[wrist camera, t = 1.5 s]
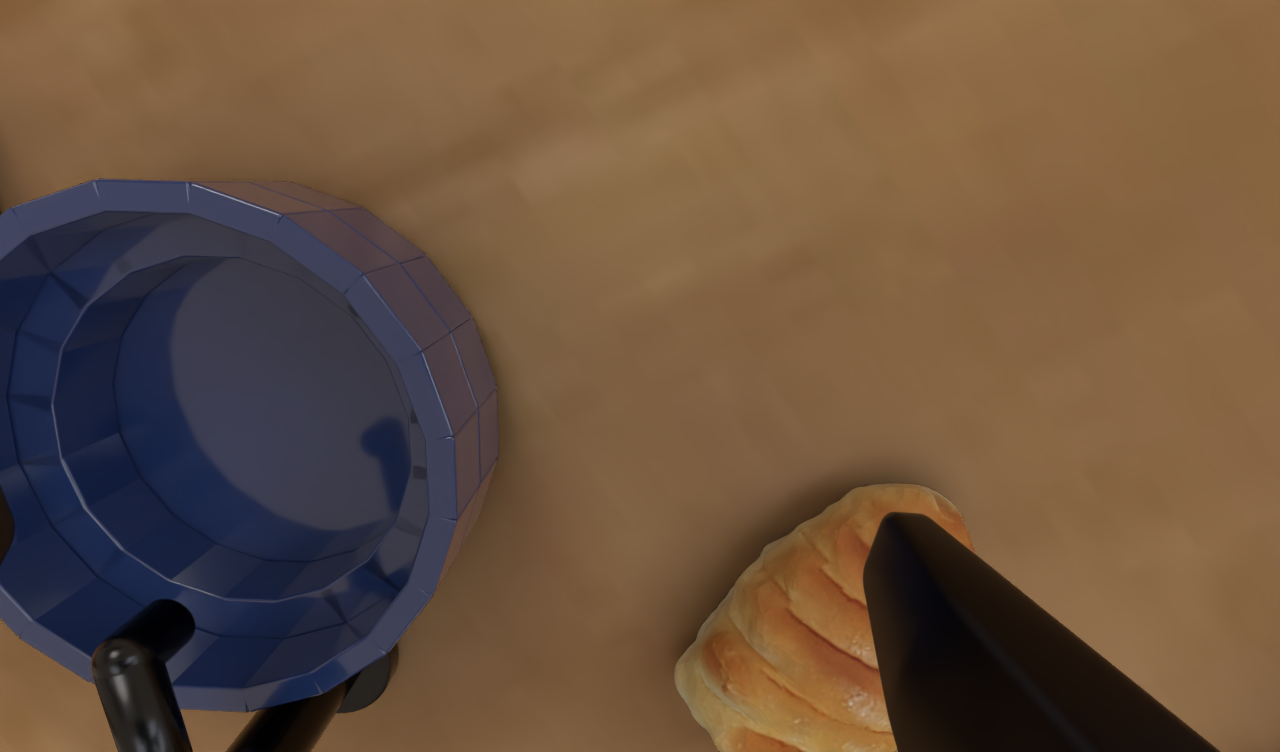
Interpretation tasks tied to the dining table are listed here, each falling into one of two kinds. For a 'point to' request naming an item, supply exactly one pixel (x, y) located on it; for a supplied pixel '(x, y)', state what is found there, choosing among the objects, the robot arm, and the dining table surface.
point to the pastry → (803, 636)
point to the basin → (232, 429)
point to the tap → (149, 707)
